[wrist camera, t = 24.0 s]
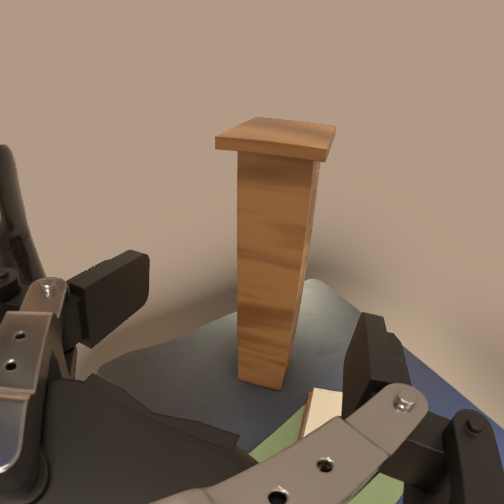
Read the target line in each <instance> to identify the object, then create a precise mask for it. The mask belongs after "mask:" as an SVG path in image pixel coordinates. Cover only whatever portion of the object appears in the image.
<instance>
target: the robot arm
mask: <svg viewBox="0 0 504 504" xmlns="http://www.w3.org/2000/svg"><path fill="white" fill-rule="evenodd" d="M149 263H150V260H149V257H148V255H147V254H144V253H140V252H137V251H133V250H128V251H126V252H124V253H122V254H120V255H118V256H116V257H114V258H112V259H110V260H105V261H103V262H101V263H99V264H97V265H95V267H94V266H93V267H91V268H89V269H88V271H87V270H86V271H84V272H82V273H80V274H78V275H76V276H74V277H73V278H71V279H69V280H67V281H64V280H63V279H61V278H56V277H46V275H45V272H44V270H43V267H42V264H41V262H40V259H39V257H38V254H37V251H36V248H35V245H34V242H33V239H32V236H31V233H30V230H29V226H28V223H27V219H26V213H25V208H24V203H23V200H22V195H21V190H20V185H19V180H18V173H17V168H16V163H15V159H14V156H13V153H12V151H11V149H10V148H9V147H8V146H7V145H5V144H1V145H0V504H348V503H349V502H350V501H351V500H352V499H353V498H354V497H355V496H356V495H358V494H359V493H360V492H361V491H362V490H363V489H364V488H365V487H366V486H367V485H368V484H369V483H370V482H371V481H372V480H373V479H374V478H375V477H376V476H377V475H378V474H379V473H381V474H384V475H386V476H389V477H392V478H394V479H397V480H399V481H402V482H404V491H403V504H504V471H503V467H502V462H501V458H500V454H499V450H498V447H497V443H496V439H495V436H494V432H493V429H492V426H491V424H490V422H489V421H488V420H487V419H486V418H485V417H484V416H483V415H482V414H480V413H479V412H477V411H474V410H470V409H463V410H460V411H458V412H457V413H456V414H455V416H454V417H453V418H452V420H449V419H447V418H444V417H441V416H439V415H436V414H434V413H432V412H430V411H428V402H427V400H426V398H425V397H424V395H423V394H422V393H421V392H420V391H418V390H417V389H415V388H414V387H412V386H411V381H410V377H409V372H408V368H407V364H406V362H405V361H406V360H405V356H404V354H403V353H404V352H403V348H402V344H401V342H400V341H399V339H398V338H397V337H396V336H395V334H394V333H389V332H387V331H386V326H385V322H384V318H383V317H382V316H378V315H374V314H369V313H364V312H363V313H362V314H361V316H360V318H359V321H358V323H357V326H356V329H355V331H354V334H353V337H352V339H351V342H350V344H349V347H348V350H347V353H346V356H345V360H344V371H343V394H342V411H341V416H339V415H338V416H335V417H333V418H332V419H330V420H329V421H327V422H326V423H324V424H323V425H321V426H320V427H318V428H317V429H315V430H314V431H312V432H311V433H309V434H308V435H306V436H304V437H303V438H301V439H300V440H298V441H296V442H295V443H293V444H292V445H290V446H288V447H287V448H285V449H283V450H281V451H280V452H278V453H276V454H275V455H273V456H271V457H269V458H267V459H266V460H264V461H262V462H260V463H259V462H258V461H257V460H255V459H254V458H253V457H252V456H250V455H249V454H247V453H246V452H245V451H243V450H241V449H239V448H238V447H237V445H238V441H239V437H240V435H237V434H234V433H231V432H228V431H225V430H222V429H219V428H216V427H213V426H210V425H207V424H204V423H202V422H199V421H193V420H188V419H182V418H177V417H171V416H166V415H162V414H157V413H154V412H152V411H150V410H149V409H148V408H146V407H145V406H144V405H142V404H141V403H140V402H139V401H137V400H136V399H135V398H133V397H132V396H131V395H130V394H129V393H127V392H126V391H125V390H124V389H122V388H120V387H118V386H116V385H114V384H112V383H110V382H108V381H106V380H104V379H103V378H101V377H99V376H97V375H95V374H93V373H92V374H91V375H90V376H89V377H88V378H87V379H86V380H85V381H81V380H76V379H75V372H76V360H77V347H76V344H77V343H79V342H80V343H82V344H83V345H85V346H87V347H89V348H91V349H92V348H93V347H94V346H95V345H96V344H98V343H99V342H100V341H101V340H102V339H104V338H105V337H106V336H107V335H108V334H110V333H111V332H112V331H113V330H115V329H116V328H117V327H118V326H119V325H120V324H122V323H123V322H124V321H125V320H127V319H128V318H129V317H130V316H131V315H132V314H134V313H135V312H136V311H138V310H139V309H140V308H141V307H142V306H143V305H144V304H145V303H146V301H147V298H148V294H149V266H150V264H149Z"/></svg>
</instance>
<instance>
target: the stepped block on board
mask: <svg viewBox="0 0 504 504" xmlns="http://www.w3.org/2000/svg"><path fill="white" fill-rule="evenodd" d="M342 394H343V393H342V392H336V391H330V390H324V389H318V388H314V389H313V392H312V391H309V394H308V397H307V401H306V406H305V410H304V415H303V419H302V423H301V427H300V432H299V436H298V440H300V439H301V438H303V437H304V436H306V435H308V434H309V433H311V432H312V431H314V430H315V429H317V428H318V427H320V426H321V425H323V424H324V423H326V422H327V421H329V420H330V419H332V418H333V417H335V416H338V415H339V416H341V411H342ZM298 440H297V441H298Z"/></svg>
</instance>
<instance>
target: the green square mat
mask: <svg viewBox="0 0 504 504" xmlns="http://www.w3.org/2000/svg"><path fill="white" fill-rule="evenodd" d="M305 406H306V404H305V405H303V406H302V407H301V408H300V409H299V410H298V411H297V412H296V413H295V414H294V415H293V416H292V417H291V418H290V419H288V420H287V421H286V422H285V423H284V424H283V425H282V426H281V427H280V428H278V429H277V430H276V431H275V432H274V433H273V434H272V435H270V436H269V437H268V438H267V439H266V440H265V441H263V442H262V443H261V444H260V445H259V446H257V447H256V448H255V449H254V450H252V451H251V452H250V453H249V455H250V456H252V457H253V458H254V459H255V460H257V461H258V462H259V463H260V462H262V461H264V460H266V459H267V458H269V457H271V456H273V455H275V454H276V453H278V452H280V451H281V450H283V449H285V448H287V447H288V446H290V445H292V444H293V443H295V442H296V441H297V440H298V436H299V432H300V427H301V423H302V419H303V415H304V410H305ZM403 491H404V482H402V481H399V480H397V479H394V478H392V477H389V476H386V475H384V474H381V473H379V474H378V475H377V476H376V477H375V478H374V479H373V480H372V481H371V482H370V483H369V484H368V485H367V486H366V487H365V488H364V489H363V490H362V491H361V492H360V493H359V494H358V495H356V496H355V497H354V498H353V499H352V500H351V501H350V502H349V503H348V504H396V502H397V501H398V499H399V498H400V497H401V495H402V494H403Z"/></svg>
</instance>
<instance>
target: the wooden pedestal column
mask: <svg viewBox="0 0 504 504" xmlns="http://www.w3.org/2000/svg"><path fill="white" fill-rule="evenodd" d="M335 130H336V127H335V126H331V125H323V124H317V123H309V122H301V121H293V120H283V119H272V118H261V117H255V118H253V119H251V120H249V121H247V122H245V123H242V124H240V125H238V126H236V127H234V128H232V129H230V130H228V131H225V132H223V133H221V134H219V135H217V136H216V137H215V149H220V150H232V151H238V170H237V171H238V173H237V178H238V179H237V323H238V380H241V381H244V382H248V383H252V384H255V385H259V386H263V387H267V388H270V389H274V390H279V391H280V390H281V387H282V384H283V381H284V378H285V375H286V372H287V369H288V365H289V362H290V359H291V354H292V348H293V343H294V338H295V332H296V327H297V321H298V316H299V310H300V304H301V298H302V292H303V286H304V280H305V273H306V266H307V260H308V253H309V246H310V240H311V233H312V225H313V218H314V209H315V201H316V194H317V186H318V177H319V169H320V162H325V161H326V159H327V156H328V154H329V151H330V148H331V145H332V142H333V140H334V137H335Z"/></svg>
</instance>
